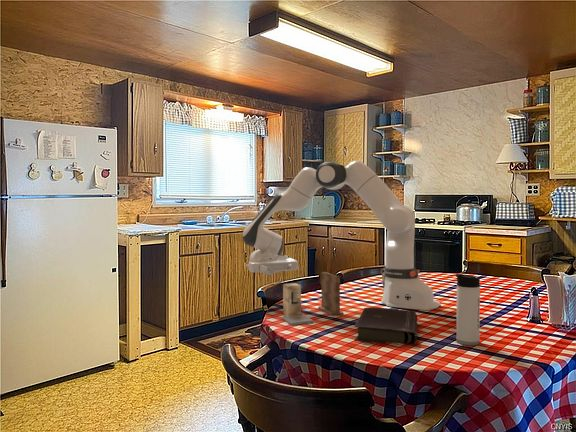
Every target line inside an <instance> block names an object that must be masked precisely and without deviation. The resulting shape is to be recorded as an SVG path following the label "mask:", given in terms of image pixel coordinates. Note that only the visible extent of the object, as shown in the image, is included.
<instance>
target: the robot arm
mask: <svg viewBox="0 0 576 432" xmlns="http://www.w3.org/2000/svg"><path fill="white" fill-rule="evenodd" d="M346 185H347V186H348V187H350V188H351V189H352V190H353V191H354V192H355V194H357V195H358V197H359V198H360V199H361V200H362V201H363V202H364V203H365V204H366V205H367V206H368V208H369V209H370V210H371V211H372V213H373V214H374V216H375V217H376V219H378V221H379V222H380V223H381V224H382V226H383V227H384V228H385V230H387V231H386V240H385V252H384V253H385V254H384V255H385V262H384V263H385V266H384V267H383V268H384V279H385V286H384V289H383V294H382V297H381V303H383V304H384V305H386V306H387V307H391V308H399V309H411V310H419V311H420V310H422V311H429V310H434V309H437V308H439V307H440V305H441V303H440V301H439V300H436V299H435V298H434V297H435V296H434V291H433V289H432V288H431V287H430V286H429V285H428V284H426V283H425V282H424V281H423V280H422V279H420V278H419V273H420V269H418V270H417V268H415V267H414V266H415V263H414V261H415V255H414V254H415V253H414V251H415V250H414V249H415V248H414V247H415V231H416V230H415V228H416V216H415V212H414V211H413V210H412V209H411V208H410V207H409V206H406V205H404V204H403V203H402V202H401V201H400V200H399V198H398V197H397V196H396V194H395V193H394V192H393V191H392V190H391V188H390V187H389V186H388V185H387V184H386V183H385V182H384V181H383V180H382V179H381V177H380V176H378V174H377V173H376V172H374V171H373V169H371V168H370V167H369V166H368V165H366V164H365V163H364V162H362V161H360V160H353V161H351V162H349V164H347V165H345V166H344V165H343V164H340V163H338V162H334V161H333V162H332V161H325V162H323V163H320V164H319V166H317V168H316V169H315V168H313V167H307V166H306V167H303V168H302V169H301V170H300V171H299V172H298V173H297V174H296V175H295V177H294V178H293V180H292V182H291V183H290V185H289V186H288V187H287V189H286V190H284V191H283V192H281V193H276V194H274V196H272V198H271V199H269V200H268V202H266V204H265V205H264V207H263V208H262V209H261V210H260V211H259V212H258V214H257V215H256V216H255V217H254V218H253V219H252V220H251V222H249V223H248V224H247V225H246V226H245V228H244V230H243V232H242V234H241V238H242V240H243V241H242V242H243V243H244V244H245V245H246V246H249V247H252V248H255V249H256V250H254V251H253V252H251V253H250V255H249V261H248V263H246V264H245V267H246V268H248V271H249V272H250V273H262V274H264V275H268V276H271V275H273V274H277V273H280V272H287V271H297V270H298V269H299V262H298V260H297V259H296V258H295V259H294V258H292V257H289V255H284V254H282V252H283V250H284V247H285V243H284V238H283V236H282V235H280V234H279V233H276V232H274V231H272V230H270V229H269V228H266V227H264V225H265V224H266V222H267V221H268V220H269V219H270V218H271V217H272V216H273V214H274V213H276V212H278V211H279V212H280V211H289V212H299V211H302V210H304V209H306V208H307V207H308V206H309V204H310V202H311V201H312V199H313V198H314V196H315V194H316V193H317V191H319V189H321V188H323V189H326V190H329V191H339V190H341V189H343V188H345V186H346Z"/></svg>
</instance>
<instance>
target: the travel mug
mask: <svg viewBox="0 0 576 432" xmlns="http://www.w3.org/2000/svg"><path fill="white" fill-rule="evenodd" d="M455 277H456V342H457V343H458V344H460V345H464V346H478V345H480V343H481V342H480V338H481V337H480V332H481V331H480V325H481V324H480V323H481V321H480V319H481V318H480V314H481V312H480V309H481V307H480V306H481V305H480V304H481V302H480V301H481V294H480V293H481V286H480V285H481V284H480V282H481V279H480V277H477V276H474V275H468V274H459V273H456V274H455Z"/></svg>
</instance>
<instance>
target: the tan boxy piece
mask: <svg viewBox="0 0 576 432" xmlns="http://www.w3.org/2000/svg"><path fill="white" fill-rule="evenodd" d="M282 301H283V303H282V307H283V309H282V310H283V312H282V313H283V315H285V317H289V316H298V315H302V285H301V284H298V283H297V282H292V283H290V282H289V283H283V284H282Z"/></svg>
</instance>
